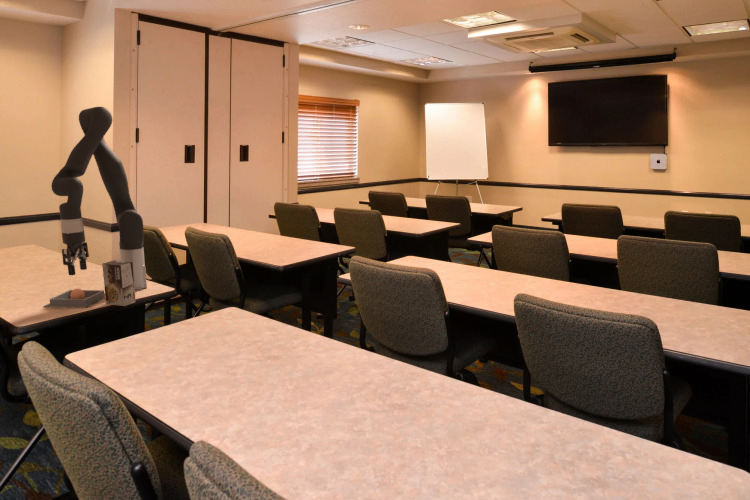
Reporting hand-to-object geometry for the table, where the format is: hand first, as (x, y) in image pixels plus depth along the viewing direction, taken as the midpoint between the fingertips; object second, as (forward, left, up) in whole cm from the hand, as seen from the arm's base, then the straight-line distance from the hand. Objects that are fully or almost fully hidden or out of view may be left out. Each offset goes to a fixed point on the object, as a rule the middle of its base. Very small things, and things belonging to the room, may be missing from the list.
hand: (78, 272), depth 212 cm
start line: (+8, -5, -12) cm, 15 cm away
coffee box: (-14, +8, -12) cm, 20 cm away
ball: (+1, -1, -9) cm, 9 cm away
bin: (+1, -1, -12) cm, 12 cm away
